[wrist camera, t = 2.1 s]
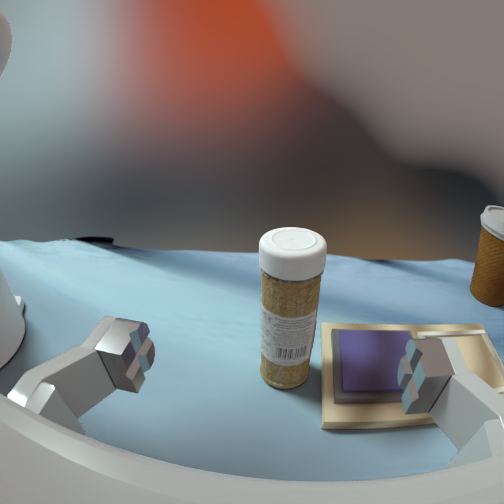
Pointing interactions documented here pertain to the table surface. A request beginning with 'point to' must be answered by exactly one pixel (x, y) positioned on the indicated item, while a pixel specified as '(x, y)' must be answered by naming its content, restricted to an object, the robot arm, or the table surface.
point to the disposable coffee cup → (490, 259)
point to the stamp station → (388, 370)
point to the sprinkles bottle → (289, 302)
